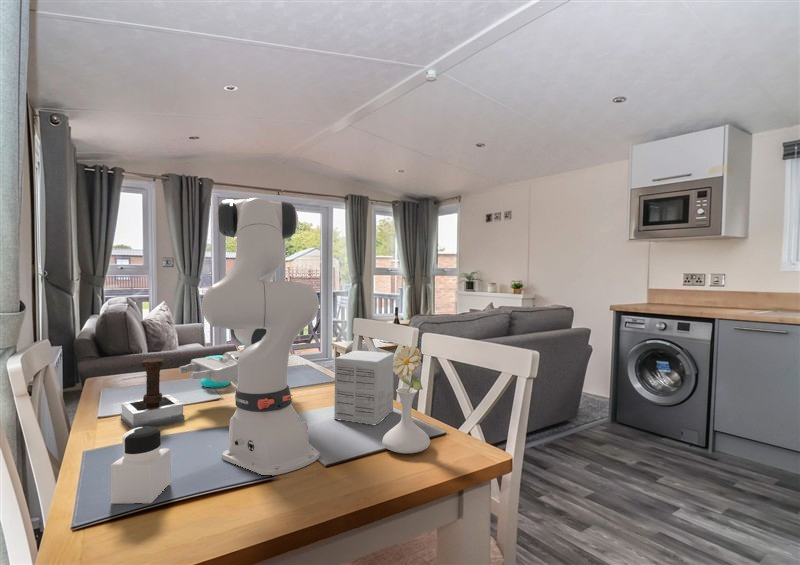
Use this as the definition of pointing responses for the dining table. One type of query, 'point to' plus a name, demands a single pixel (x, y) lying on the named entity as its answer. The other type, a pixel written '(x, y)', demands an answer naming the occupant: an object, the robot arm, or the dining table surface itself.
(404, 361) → the flower in vase
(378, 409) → the supplement box
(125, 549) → the dining table surface
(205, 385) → the donuts
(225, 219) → the robot arm
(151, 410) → the docking socket
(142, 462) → the medicine bottle
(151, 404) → the bolt
